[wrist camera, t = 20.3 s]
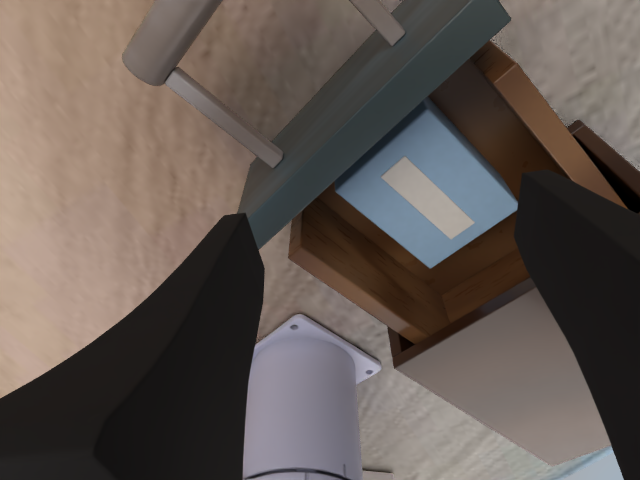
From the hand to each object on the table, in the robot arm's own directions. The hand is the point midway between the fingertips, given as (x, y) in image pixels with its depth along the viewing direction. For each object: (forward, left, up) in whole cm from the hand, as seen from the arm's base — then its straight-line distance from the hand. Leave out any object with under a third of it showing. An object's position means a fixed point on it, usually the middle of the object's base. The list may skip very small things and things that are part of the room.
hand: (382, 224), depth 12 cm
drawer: (0, -2, -9) cm, 9 cm away
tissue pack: (0, -4, -8) cm, 8 cm away
